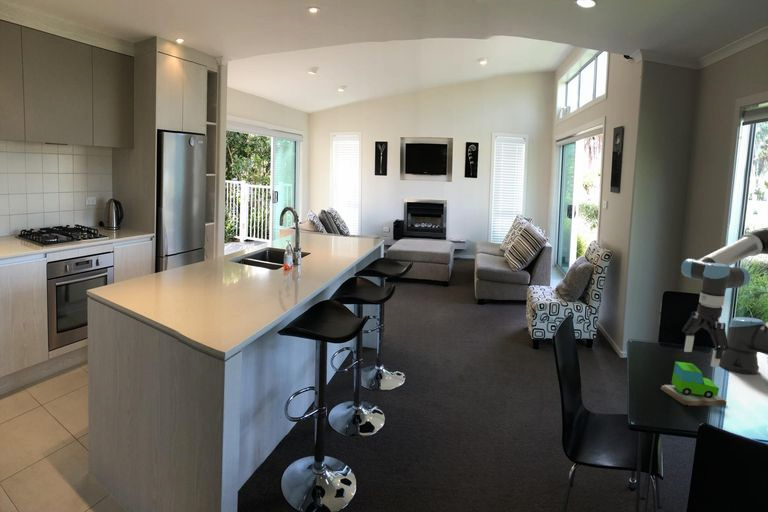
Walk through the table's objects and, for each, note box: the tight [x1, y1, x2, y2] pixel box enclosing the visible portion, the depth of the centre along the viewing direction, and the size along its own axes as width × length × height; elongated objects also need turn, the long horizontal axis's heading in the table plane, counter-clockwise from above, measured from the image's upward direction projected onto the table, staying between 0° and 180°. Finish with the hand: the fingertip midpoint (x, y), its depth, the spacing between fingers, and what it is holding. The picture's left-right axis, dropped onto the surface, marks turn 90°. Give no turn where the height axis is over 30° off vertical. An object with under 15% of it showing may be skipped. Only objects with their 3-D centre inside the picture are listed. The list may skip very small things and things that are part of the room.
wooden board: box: [660, 384, 727, 406], centre depth 188 cm, size 17×13×2 cm
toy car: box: [671, 361, 720, 398], centre depth 186 cm, size 10×13×10 cm
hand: (700, 358), depth 185 cm, fingers open, 13 cm apart
